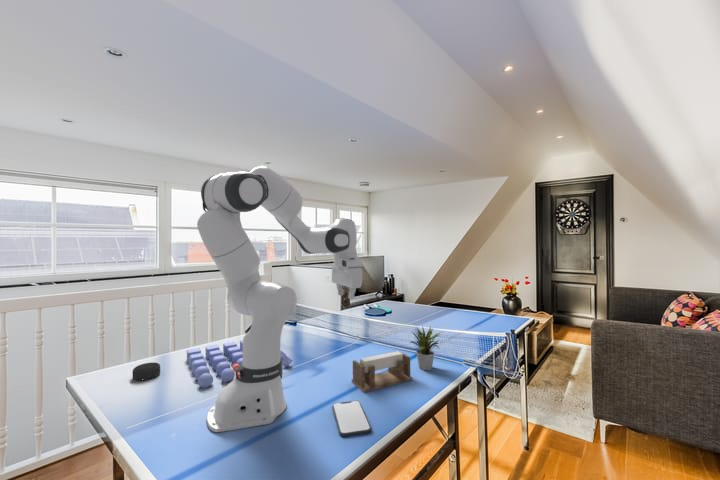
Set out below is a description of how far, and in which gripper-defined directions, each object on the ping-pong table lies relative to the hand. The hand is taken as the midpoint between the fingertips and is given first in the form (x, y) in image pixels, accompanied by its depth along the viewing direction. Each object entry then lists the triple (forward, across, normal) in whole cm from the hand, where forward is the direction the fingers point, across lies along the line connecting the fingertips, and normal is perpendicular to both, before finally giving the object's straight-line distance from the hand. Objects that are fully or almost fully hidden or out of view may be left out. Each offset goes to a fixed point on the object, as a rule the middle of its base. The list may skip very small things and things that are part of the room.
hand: (345, 297), depth 127 cm
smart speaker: (+29, -34, -68) cm, 82 cm away
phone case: (+30, +30, -13) cm, 44 cm away
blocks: (+30, -30, -35) cm, 55 cm away
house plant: (+29, +12, +29) cm, 43 cm away
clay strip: (+24, +13, +8) cm, 29 cm away
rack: (+29, +13, +8) cm, 33 cm away
